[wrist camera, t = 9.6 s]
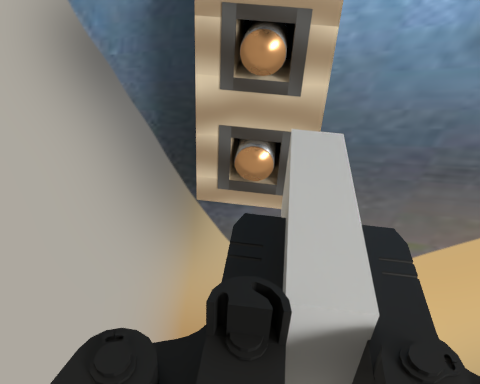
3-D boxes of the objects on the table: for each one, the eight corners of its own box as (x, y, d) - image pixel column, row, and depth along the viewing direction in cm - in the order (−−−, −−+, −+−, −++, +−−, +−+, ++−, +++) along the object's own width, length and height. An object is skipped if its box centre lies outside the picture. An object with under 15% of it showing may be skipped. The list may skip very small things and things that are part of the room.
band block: (209, -34, 39) (194, -25, 33) (338, -25, 38) (345, -14, 32) (208, 167, 51) (196, 200, 45) (305, 177, 50) (306, 212, 45)
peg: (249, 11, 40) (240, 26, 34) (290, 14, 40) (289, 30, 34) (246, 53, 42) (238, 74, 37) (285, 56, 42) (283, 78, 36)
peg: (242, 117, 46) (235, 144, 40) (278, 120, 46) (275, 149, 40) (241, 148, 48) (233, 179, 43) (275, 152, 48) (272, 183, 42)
